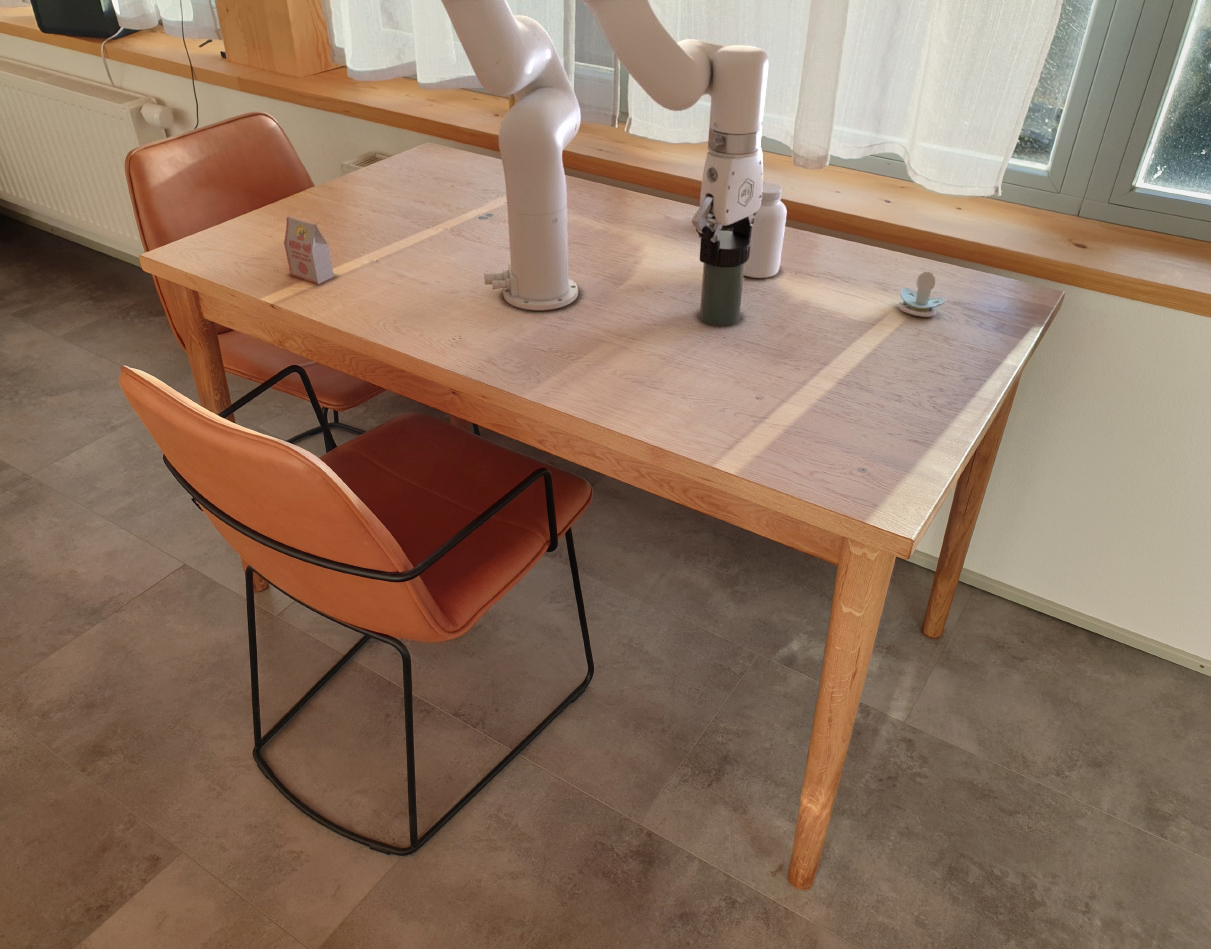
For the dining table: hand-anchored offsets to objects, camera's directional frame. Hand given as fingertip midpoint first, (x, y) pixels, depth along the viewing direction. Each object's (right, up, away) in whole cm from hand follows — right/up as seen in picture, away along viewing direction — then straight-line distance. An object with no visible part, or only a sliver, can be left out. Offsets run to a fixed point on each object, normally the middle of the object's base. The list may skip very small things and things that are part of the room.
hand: (724, 255), depth 145 cm
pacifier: (+33, -7, +9) cm, 35 cm away
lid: (0, +2, -1) cm, 2 cm away
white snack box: (-70, +1, +19) cm, 72 cm away
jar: (0, -9, +6) cm, 11 cm away
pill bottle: (+8, +2, +21) cm, 23 cm away
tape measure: (+5, +15, +39) cm, 42 cm away
